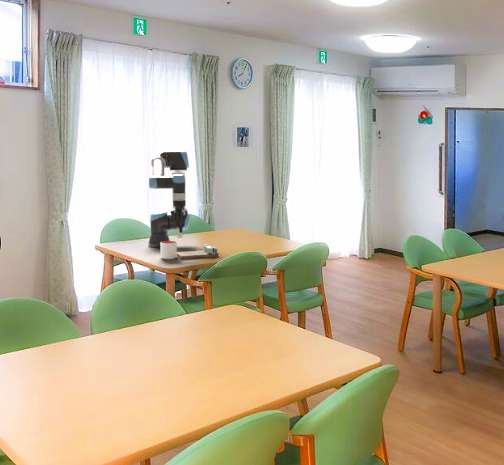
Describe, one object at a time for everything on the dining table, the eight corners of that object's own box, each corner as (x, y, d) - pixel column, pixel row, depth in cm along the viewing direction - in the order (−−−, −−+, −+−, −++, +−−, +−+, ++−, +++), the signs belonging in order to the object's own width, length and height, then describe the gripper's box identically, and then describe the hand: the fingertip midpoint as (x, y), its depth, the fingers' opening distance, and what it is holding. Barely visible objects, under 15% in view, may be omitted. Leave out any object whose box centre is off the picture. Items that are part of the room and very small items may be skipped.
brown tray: (175, 255, 393) (174, 247, 393) (211, 252, 402) (211, 244, 401) (181, 259, 380) (181, 251, 379) (218, 256, 389) (218, 248, 388)
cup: (173, 260, 378) (173, 243, 377) (158, 259, 380) (158, 243, 379) (179, 256, 388) (178, 241, 387) (163, 256, 390) (163, 240, 388)
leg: (203, 249, 399) (203, 244, 398) (208, 249, 400) (208, 244, 399) (208, 253, 387) (207, 247, 387) (212, 252, 388) (212, 247, 388)
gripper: (168, 199, 384) (169, 236, 388) (179, 201, 373) (179, 239, 377) (179, 198, 388) (180, 235, 392) (190, 200, 378) (190, 238, 382)
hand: (179, 237), depth 385 cm, fingers closed
